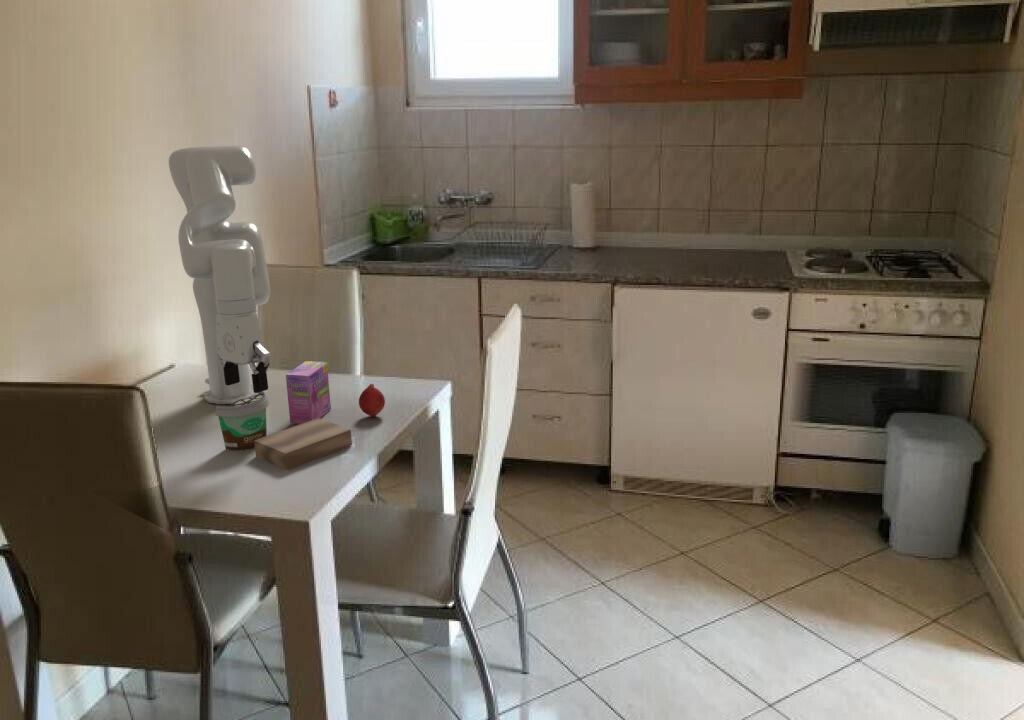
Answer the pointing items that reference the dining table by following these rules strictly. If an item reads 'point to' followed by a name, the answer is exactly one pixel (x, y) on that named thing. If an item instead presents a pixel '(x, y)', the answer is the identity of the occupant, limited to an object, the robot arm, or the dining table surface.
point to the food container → (243, 421)
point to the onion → (371, 401)
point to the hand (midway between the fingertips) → (246, 387)
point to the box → (308, 392)
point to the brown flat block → (302, 443)
